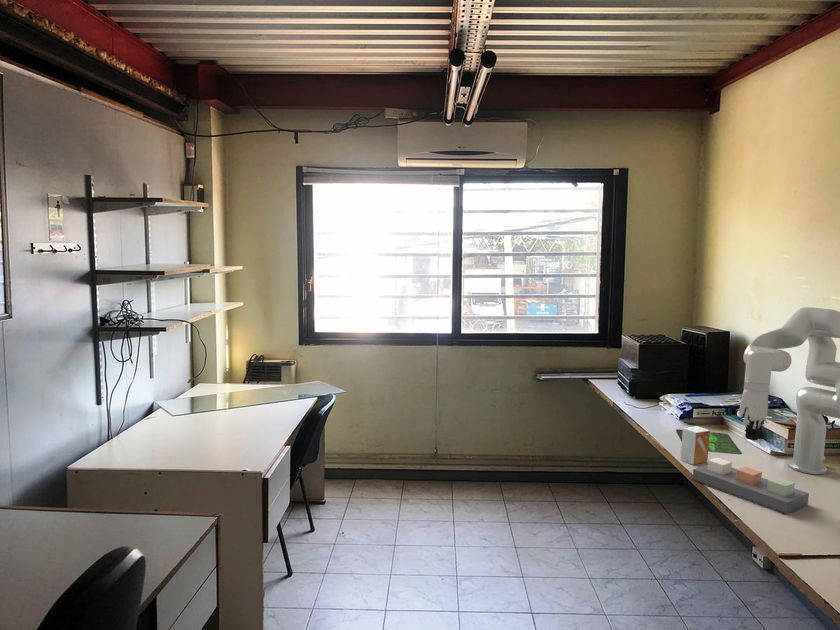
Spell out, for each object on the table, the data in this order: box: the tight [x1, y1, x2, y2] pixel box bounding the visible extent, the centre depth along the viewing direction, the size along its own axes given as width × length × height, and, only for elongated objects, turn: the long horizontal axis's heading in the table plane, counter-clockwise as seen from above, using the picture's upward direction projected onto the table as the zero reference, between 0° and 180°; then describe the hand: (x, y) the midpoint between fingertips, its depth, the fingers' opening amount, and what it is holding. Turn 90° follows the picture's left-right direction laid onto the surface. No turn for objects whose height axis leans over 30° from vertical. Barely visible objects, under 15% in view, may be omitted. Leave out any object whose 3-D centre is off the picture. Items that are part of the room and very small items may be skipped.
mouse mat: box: [675, 428, 743, 455], centre depth 256 cm, size 27×22×1 cm
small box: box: [679, 425, 711, 466], centre depth 231 cm, size 8×6×13 cm
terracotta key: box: [736, 466, 763, 486], centre depth 203 cm, size 6×6×5 cm
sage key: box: [767, 476, 795, 497], centre depth 194 cm, size 6×6×5 cm
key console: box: [692, 464, 810, 515], centre depth 203 cm, size 14×32×4 cm, turn 33°
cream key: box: [707, 456, 733, 475], centre depth 212 cm, size 6×6×5 cm
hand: (751, 439), depth 201 cm, fingers closed
